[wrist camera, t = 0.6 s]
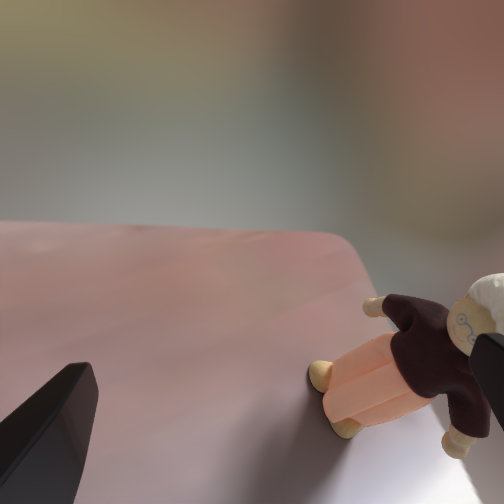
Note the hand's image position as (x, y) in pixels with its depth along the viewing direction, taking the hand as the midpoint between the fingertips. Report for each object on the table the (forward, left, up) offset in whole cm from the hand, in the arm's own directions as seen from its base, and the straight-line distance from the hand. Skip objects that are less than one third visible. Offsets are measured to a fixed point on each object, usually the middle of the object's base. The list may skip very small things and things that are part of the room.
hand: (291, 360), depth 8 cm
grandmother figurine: (+5, -8, -12) cm, 15 cm away
